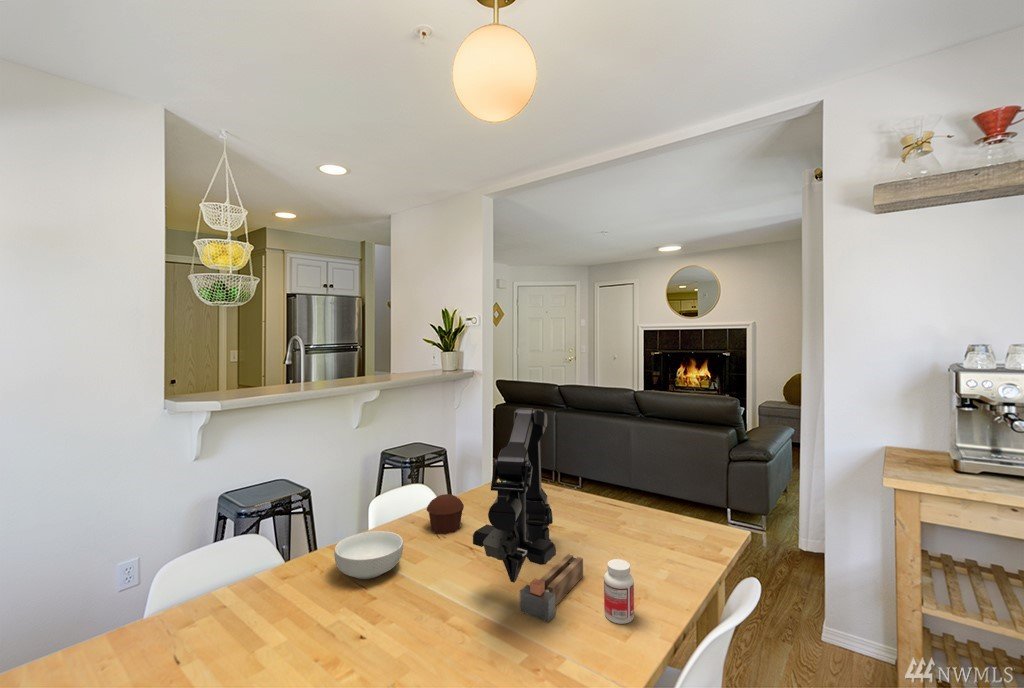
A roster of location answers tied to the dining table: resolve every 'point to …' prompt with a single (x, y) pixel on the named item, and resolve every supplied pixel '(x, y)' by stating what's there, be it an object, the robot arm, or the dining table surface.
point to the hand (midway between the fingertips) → (513, 581)
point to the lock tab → (537, 587)
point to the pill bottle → (619, 592)
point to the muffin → (445, 514)
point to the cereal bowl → (368, 554)
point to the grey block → (537, 604)
